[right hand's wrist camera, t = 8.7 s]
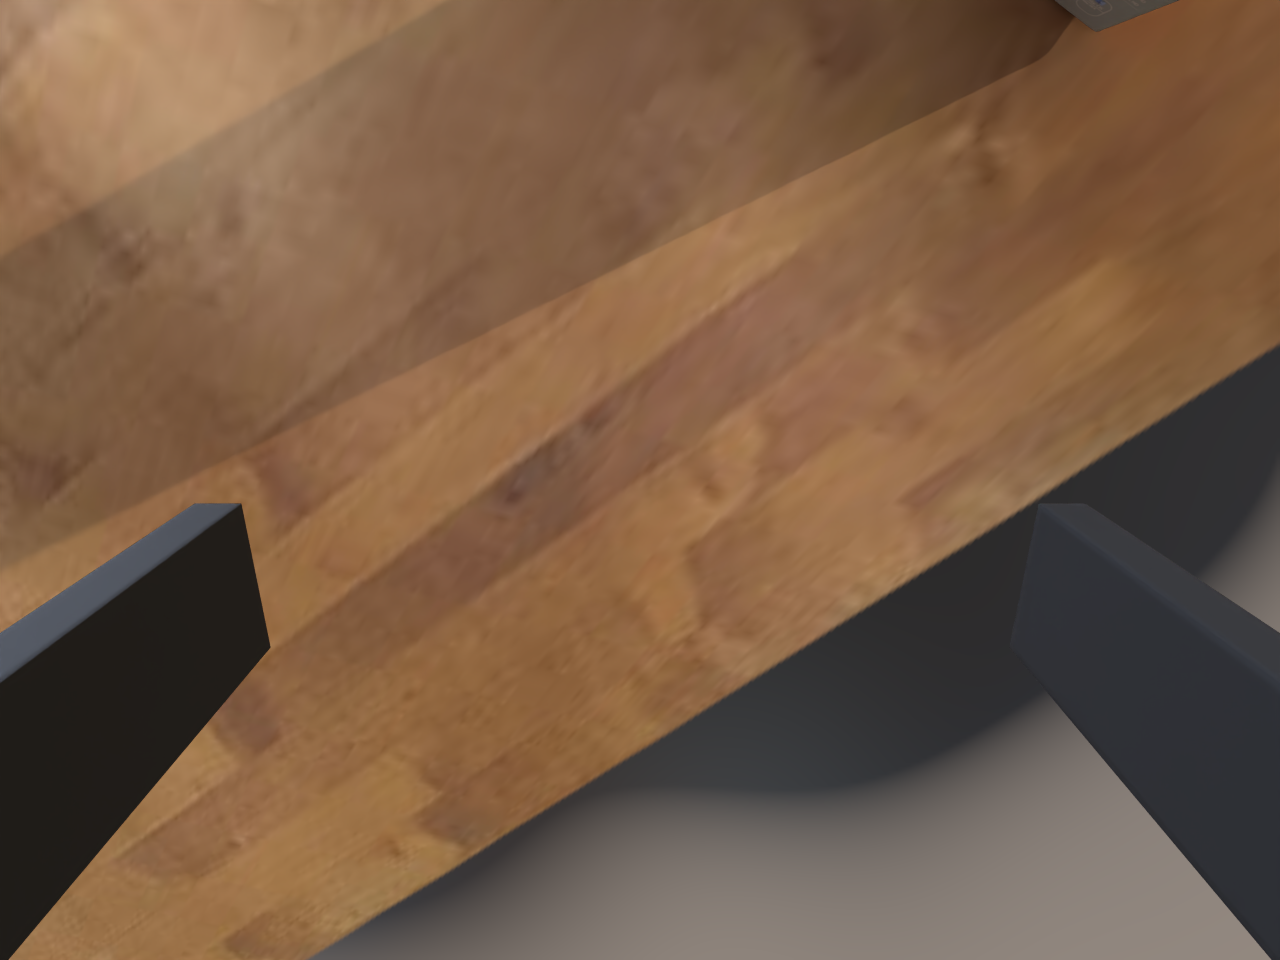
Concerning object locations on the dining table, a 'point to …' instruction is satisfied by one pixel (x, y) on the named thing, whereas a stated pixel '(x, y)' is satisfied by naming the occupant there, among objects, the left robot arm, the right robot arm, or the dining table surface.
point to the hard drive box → (1109, 10)
